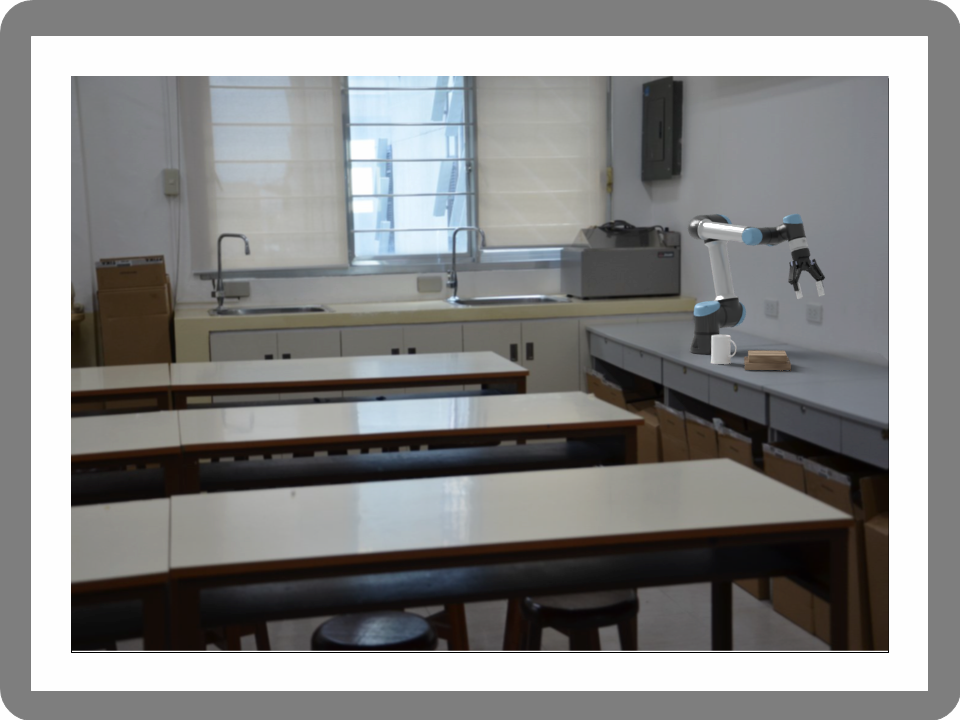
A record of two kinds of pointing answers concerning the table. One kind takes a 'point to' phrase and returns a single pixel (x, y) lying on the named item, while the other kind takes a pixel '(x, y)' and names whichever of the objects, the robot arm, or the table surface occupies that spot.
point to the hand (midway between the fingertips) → (811, 297)
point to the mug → (721, 349)
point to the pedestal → (767, 360)
